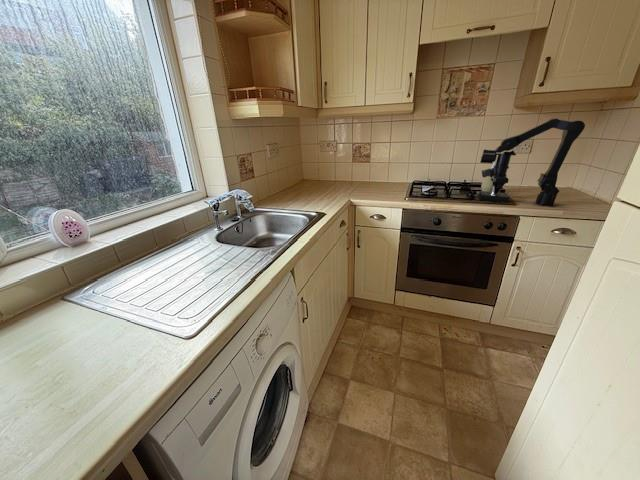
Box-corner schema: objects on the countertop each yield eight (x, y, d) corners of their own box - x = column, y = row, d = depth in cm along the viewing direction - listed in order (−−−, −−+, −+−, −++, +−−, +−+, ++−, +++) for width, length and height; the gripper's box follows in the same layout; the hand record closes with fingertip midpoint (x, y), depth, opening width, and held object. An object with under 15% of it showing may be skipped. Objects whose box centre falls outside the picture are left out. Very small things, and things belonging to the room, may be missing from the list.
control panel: (504, 198, 148) (506, 192, 146) (508, 202, 139) (509, 196, 138) (478, 196, 152) (479, 190, 151) (480, 200, 144) (481, 194, 143)
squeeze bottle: (482, 194, 156) (489, 163, 149) (478, 191, 164) (485, 161, 156) (497, 194, 155) (505, 163, 147) (492, 191, 162) (500, 161, 155)
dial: (489, 192, 147) (491, 184, 145) (498, 193, 146) (500, 184, 144) (490, 194, 144) (492, 185, 142) (499, 195, 142) (501, 186, 140)
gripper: (482, 161, 149) (476, 188, 155) (486, 165, 133) (479, 195, 140) (506, 162, 145) (498, 189, 151) (512, 166, 129) (503, 197, 135)
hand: (494, 193), depth 144 cm, fingers closed on dial, 4 cm apart
